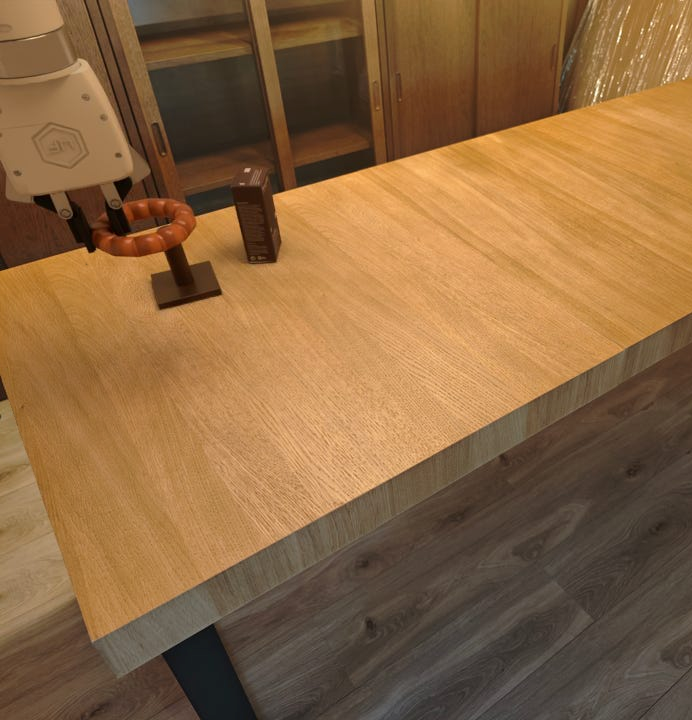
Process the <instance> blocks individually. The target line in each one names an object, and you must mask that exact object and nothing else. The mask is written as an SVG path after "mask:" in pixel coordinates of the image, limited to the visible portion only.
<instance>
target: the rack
mask: <svg viewBox="0 0 692 720" xmlns="http://www.w3.org/2000/svg"><path fill="white" fill-rule="evenodd" d="M169 225H170V224H167V225H163V226H160V227H158V228H157V230H156V232H157V231H159V230H161V229H163V228H165V227H167V226H169ZM163 253H164V256H165V259H166V261H167V264H168V267H169V269H168V270H163V271H159V272H155V273H151V274H150V279H151V283H152V286H153V290H154V294H155V298H156V302H157V306H158V309H159V310H160V311H163V310H166V309H171V308H174V307H177V306H182V305H185V304H189V303H193V302H197V301H201V300H205V299H208V298H211V297H213V298H214V297H216V296H220V295H223V292H222V289H221V287H220V284H219V280H218V279H217V276H216V273H215V271H214V268H213V266H212V263H211V261H210V260H204V261H201V262H197V263H193V264H189V263H190V262H189V261H188V258H187V255H186V252H185V249H184V246H183V242H182V243H180V244H178V245H176V246H174V247H172V248H170V249H168V250H166V251H164V252H163Z"/></svg>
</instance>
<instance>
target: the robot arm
mask: <svg viewBox="0 0 692 720" xmlns="http://www.w3.org/2000/svg"><path fill="white" fill-rule="evenodd" d="M0 163H1V165H2V167H3V170H4V172H5V195H4V196H5V198H6V199H7V200H8V201H11V202H17V203H23V204H31V205H32V204H35V205H37V206H39V207H41V208H43V209H46V210H48V211H50V212H52V213H54V214H57V215H58V216H59V218H61V219H63V220H65V221H66V223H67V225H68V227H69V230H70V231H71V234H72V236H73V238H74V240H75V243H76V244H77V245H78V244H79V245H80V244H84V246H85V248H86V251H87V253H88V254H94V253H95V252H96V251H97V248H96V247H95V246H94V245H93V242H92V237H91V226H90V223H89V221H88V219H87V217H86V214H85V212H84V210H83V208H82V206H79V204H78V203H76V202H75V201H74V200H72V196H71V195H70V192H69V191H74V190H78V189H84V188H89V187H95V186H99V187H100V190H101V192H102V195H104V198H103V199H104V208H105V212H106V214H107V216H108V219H109V221H110V224H111V226H112V228H113V231H114V233H115V234H114V235H117V236H127V234H131V233H132V228H131V224H130V223H129V222H128V219H127V217H126V215H125V212H124V210H123V207H122V204H123V202H124V201H125V199H126V197H128V194H129V193H130V191H131V189H132V188H133V186H134V185H136V184H138V183H140V182H142V180H144V179H145V178H147V177H148V176H149V175H150V174H151V167H150V164H149V163H148V161H146V160H145V159H144V158H143V157H142V156H141V155H140V153H139V152H137V151H136V150H135V148H134V147H132V146H131V144H130V143H129V142H128V141H127V138H126V136H125V133H124V131H123V129H122V126H121V124H120V122H119V119H118V117H117V115H116V112H115V110H114V108H113V107H112V104H111V101H110V100H109V97H108V95H107V94H106V92H105V90H104V88H103V85H102V83H101V82H100V80H99V78H98V76H97V75H96V73H95V72H94V70H93V68H92V67H91V65H90V64H89V62H88V61H87V60H85V59H83V58H78V54H77V52H76V49H75V46H74V44H73V42H72V39H71V37H70V34H69V32H68V29H67V26H66V24H65V23H64V19H63V16H62V14H61V11H60V9H59V6H58V3H57V1H56V0H0Z"/></svg>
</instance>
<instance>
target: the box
mask: <svg viewBox="0 0 692 720" xmlns="http://www.w3.org/2000/svg"><path fill="white" fill-rule="evenodd" d="M230 192H231V196H232V200H233V205H234V209H235V213H236V217H237V222H238V226H239V230H240V234H241V238H242V242H243V247H244V252H245V256H246V260H247V263H249V264H250V263H251V264H264V263H265V264H266V263H275V262H277V260H278V257H279V252H280V249H281V245H282V242H283V241H282V237H281V231H280V226H279V221H278V216H277V211H276V205H275V201H274V196H273V190H272V184H271V180H270V174H269V169H268V168H264V167H250V168H249V167H246V168H245V167H244V168H241V167H240V168H238V169H237V171H236V174H235V175H234V176H233V180H232V182H231V185H230Z"/></svg>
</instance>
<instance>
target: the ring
mask: <svg viewBox="0 0 692 720" xmlns="http://www.w3.org/2000/svg"><path fill="white" fill-rule="evenodd" d="M122 207H123V210H124V212H125V215H126V217H127V219H128V222H129V224H131V223H134V222H138V221H141V220H147V219H151V218H167V219H168V218H169V219H172V220H173V221H172V222H171V223H170V224H168V225H169V226H167V227H165V228H163V229H161V230H159V231H157V230H156V231H155V232H150V233H146V234H141V235H136V236H127V235H126V236H117V235H115V233H114V231H113V228H112V226H111V224H110V221H109V219H108V216H107V214H106V211H105V212H103V214H101V216H99V217H98V218H97V219H96V220H95V221H94V222H93V224H91V226H90V228H91V237H92V242H93V245H94V246H95V247H96V249H98V250H100V251H102V252H103V253H106V254H108V255H110V256H112V257H116V258H117V257H118V258H119V257H121V258H122V257H123V258H142V257H146V256H151V255H155V254H159V253H164V251H166V250H168V249H170V248H172V247H174V246H176V245H178V244H180V243H182V244H183V242H185V241H186V240H187V239H188V238H189V237H190V236H191V234H192V233H193V231H194V230H195V229H196V227H197V218H196V216H195V213H194V210H193V209H192V208H191V206H190V205H188V204H186V203H183V202H181V201H178V200H176V199H173V198H159V197H158V198H157V197H156V198H155V197H154V198H151V197H149V198H143V199H139V200H134V201H129V202H124V203H122Z"/></svg>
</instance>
